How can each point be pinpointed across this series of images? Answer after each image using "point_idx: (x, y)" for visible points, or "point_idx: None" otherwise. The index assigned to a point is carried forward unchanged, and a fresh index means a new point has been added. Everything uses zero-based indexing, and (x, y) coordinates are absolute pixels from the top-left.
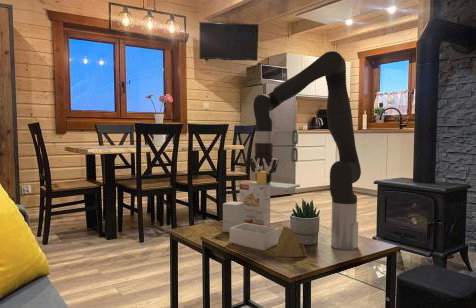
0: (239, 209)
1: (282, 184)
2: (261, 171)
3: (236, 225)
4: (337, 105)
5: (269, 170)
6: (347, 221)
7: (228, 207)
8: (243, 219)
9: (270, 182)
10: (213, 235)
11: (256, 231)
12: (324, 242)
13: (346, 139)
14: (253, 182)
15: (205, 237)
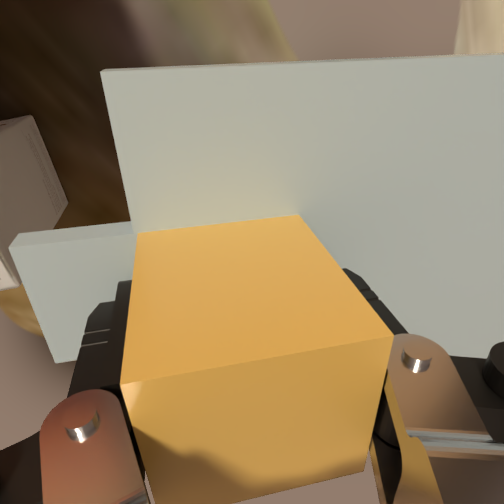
0: (16, 232)
1: (483, 196)
2: (202, 443)
3: (57, 220)
4: None
5: (416, 411)
6: None
7: None
8: (16, 144)
9: (246, 121)
10: (21, 293)
11: None
12: (481, 47)
13: None
14: (48, 312)
15: (29, 330)
